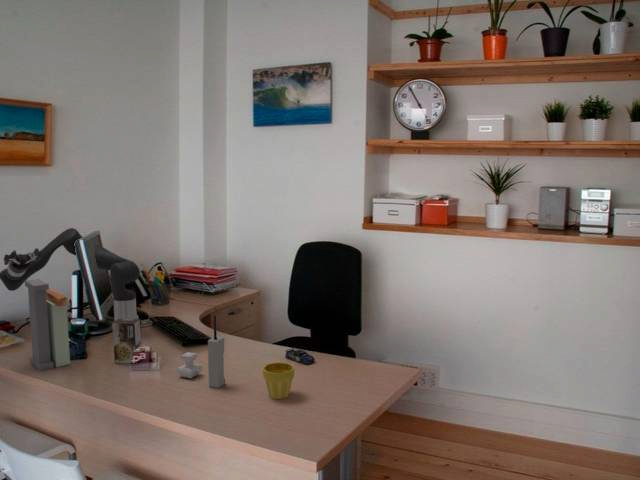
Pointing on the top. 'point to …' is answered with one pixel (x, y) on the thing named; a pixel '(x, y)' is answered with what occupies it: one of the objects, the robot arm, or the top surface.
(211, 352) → the vintage mobile phone
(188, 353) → the stamp
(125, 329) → the coffee box
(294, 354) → the race car
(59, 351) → the pale green tall block
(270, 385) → the plant pot
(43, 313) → the tall stand
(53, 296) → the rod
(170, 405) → the top surface
